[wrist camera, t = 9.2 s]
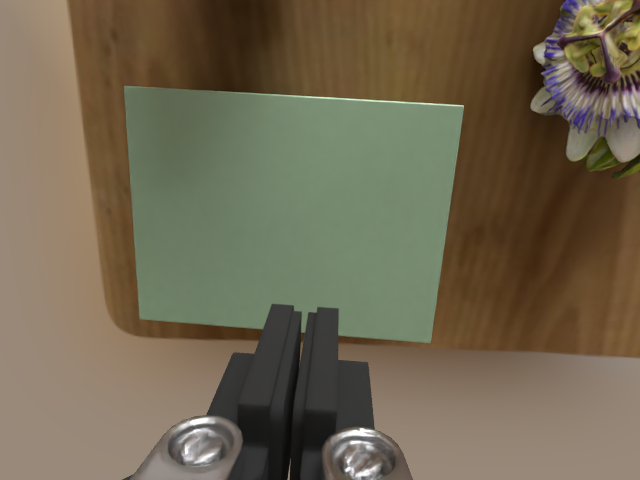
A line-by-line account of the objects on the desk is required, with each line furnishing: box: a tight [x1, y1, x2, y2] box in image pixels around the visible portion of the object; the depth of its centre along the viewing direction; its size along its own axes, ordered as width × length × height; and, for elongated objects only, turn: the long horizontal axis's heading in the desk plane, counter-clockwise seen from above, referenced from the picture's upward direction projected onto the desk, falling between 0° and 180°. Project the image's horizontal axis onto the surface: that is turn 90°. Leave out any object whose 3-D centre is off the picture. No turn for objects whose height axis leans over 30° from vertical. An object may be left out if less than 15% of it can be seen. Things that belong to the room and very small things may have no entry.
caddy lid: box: [124, 86, 464, 343], centre depth 24 cm, size 16×13×1 cm
